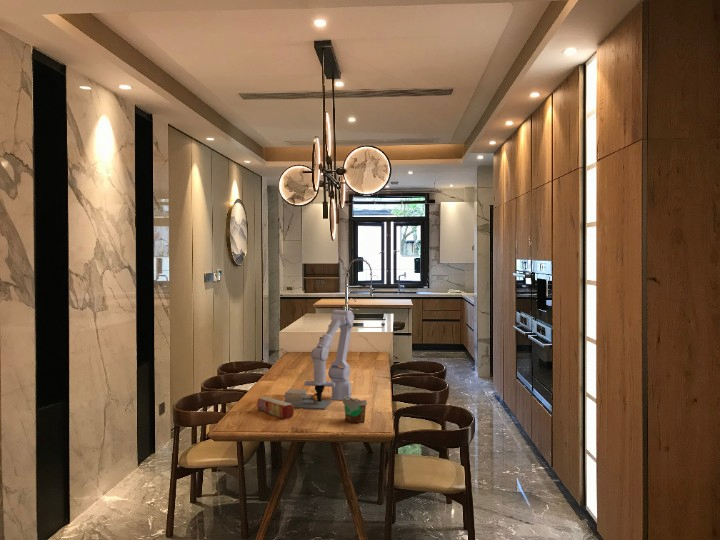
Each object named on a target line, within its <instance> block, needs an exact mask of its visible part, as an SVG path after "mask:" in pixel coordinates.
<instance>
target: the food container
mask: <svg viewBox="0 0 720 540" xmlns="http://www.w3.org/2000/svg"><path fill="white" fill-rule="evenodd" d="M342 403H343V405H344V415H345V422H346V423H348V424H351V425H352V424H353V425H354V424H355V425H359V423H361V424H365V423H364V422H366V420H365V419H366V409H367V408H366V406H367V405H368V403H367V399H363V400H360V399H359V398H354V397H353V398H352V397H350V398H349V397H348V395H347V396H345V397H344V399H343V400H342Z"/></svg>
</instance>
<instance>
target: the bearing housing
mask: <svg viewBox="0 0 720 540" xmlns="http://www.w3.org/2000/svg"><path fill="white" fill-rule="evenodd" d="M303 395H307V389H306V388H305V389H304V388H289V389H288V390H286V391H285V392H284V401H285V402H286V403H290V404H292V405H302V404H303V403H304V402H305V401H306V400H304V399H303Z"/></svg>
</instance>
